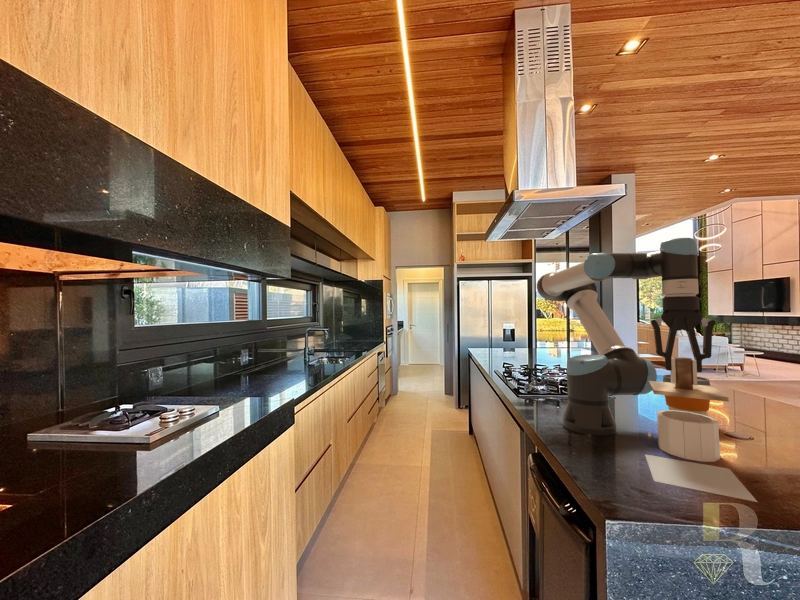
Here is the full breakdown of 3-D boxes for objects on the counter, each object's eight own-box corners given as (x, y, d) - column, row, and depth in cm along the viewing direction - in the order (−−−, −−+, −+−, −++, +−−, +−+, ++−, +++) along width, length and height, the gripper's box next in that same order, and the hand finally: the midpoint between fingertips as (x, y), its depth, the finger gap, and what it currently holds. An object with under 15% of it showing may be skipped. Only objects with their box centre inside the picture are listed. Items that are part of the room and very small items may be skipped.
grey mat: (654, 482, 72) (654, 481, 72) (644, 455, 85) (644, 454, 85) (758, 504, 63) (757, 501, 63) (729, 470, 77) (729, 468, 77)
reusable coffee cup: (707, 419, 114) (705, 376, 115) (717, 430, 103) (715, 382, 104) (661, 414, 121) (659, 373, 122) (666, 423, 110) (664, 378, 111)
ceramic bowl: (663, 456, 85) (661, 419, 85) (655, 441, 95) (654, 408, 96) (726, 467, 79) (724, 426, 79) (711, 449, 89) (709, 414, 89)
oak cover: (654, 394, 85) (652, 359, 85) (648, 384, 97) (647, 353, 97) (728, 401, 78) (726, 363, 78) (712, 389, 89) (711, 356, 90)
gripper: (643, 296, 90) (646, 382, 89) (726, 294, 81) (731, 390, 80) (640, 297, 96) (643, 378, 95) (718, 295, 87) (722, 384, 86)
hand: (683, 383), depth 87 cm, fingers closed on oak cover, 4 cm apart
